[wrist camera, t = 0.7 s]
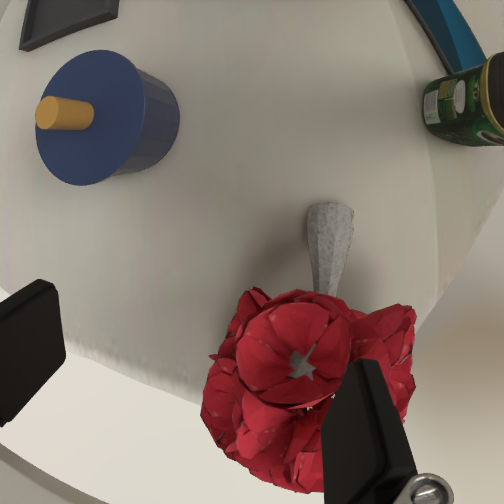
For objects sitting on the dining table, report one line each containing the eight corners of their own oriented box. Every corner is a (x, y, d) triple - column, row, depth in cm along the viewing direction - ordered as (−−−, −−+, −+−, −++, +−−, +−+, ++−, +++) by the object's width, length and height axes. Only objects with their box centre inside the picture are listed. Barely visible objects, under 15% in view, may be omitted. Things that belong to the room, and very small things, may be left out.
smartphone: (451, 79, 29) (454, 78, 28) (391, -18, 26) (393, -21, 25) (487, 67, 28) (491, 66, 27) (431, -24, 24) (434, -27, 23)
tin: (93, 85, 34) (44, 73, 24) (179, 68, 33) (144, 43, 23) (94, 175, 38) (43, 185, 28) (180, 168, 37) (144, 174, 27)
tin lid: (44, 71, 25) (3, 62, 18) (152, 39, 23) (119, 15, 17) (44, 189, 29) (2, 200, 22) (152, 179, 27) (115, 187, 21)
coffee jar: (482, 96, 29) (578, 79, 12) (478, 152, 32) (579, 162, 14) (421, 73, 30) (507, 29, 12) (417, 133, 32) (512, 124, 15)
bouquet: (231, 226, 45) (205, 435, 39) (223, 134, 22) (174, 533, 16) (376, 246, 45) (353, 443, 39) (475, 186, 22) (432, 522, 16)
